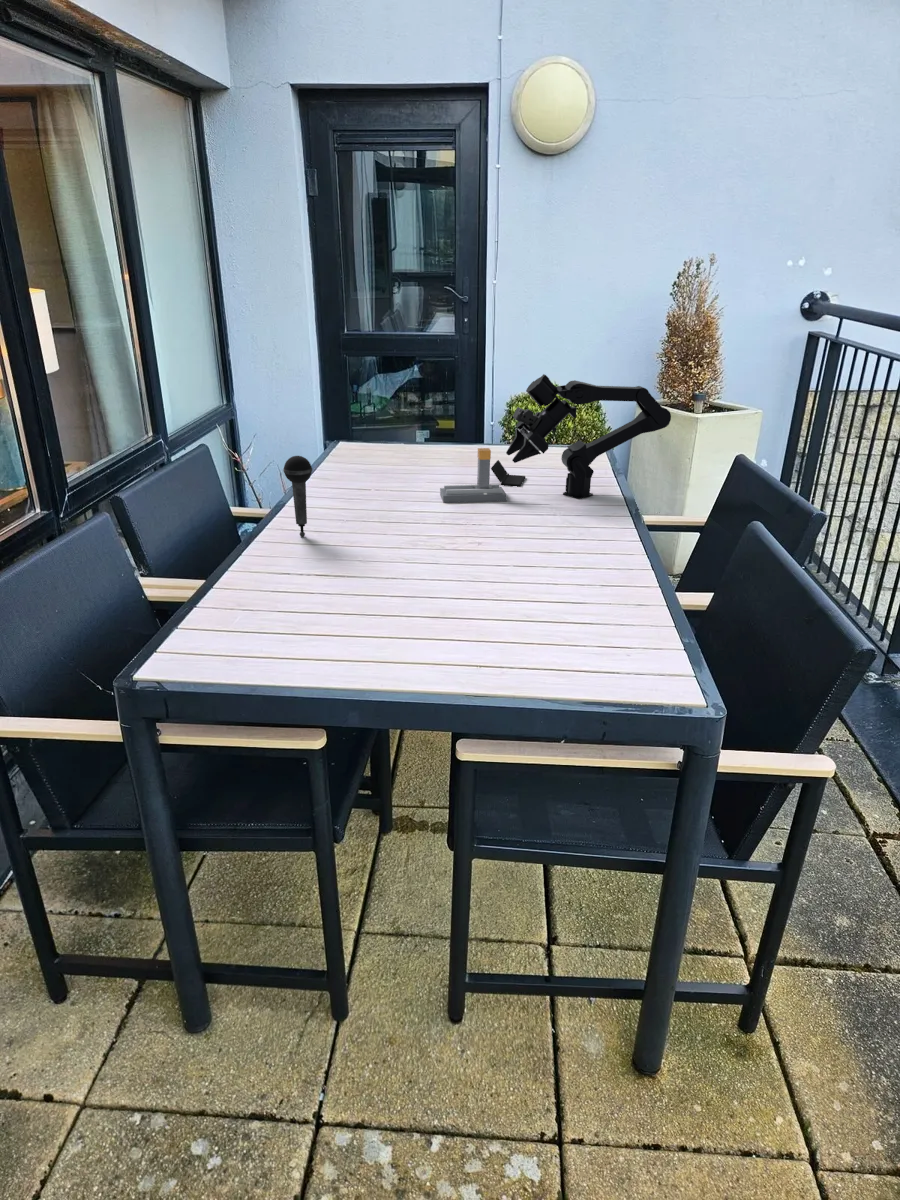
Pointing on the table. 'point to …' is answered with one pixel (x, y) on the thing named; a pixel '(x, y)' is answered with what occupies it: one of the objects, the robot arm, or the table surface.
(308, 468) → the microphone
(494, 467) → the handheld gaming console
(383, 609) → the table surface
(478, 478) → the block
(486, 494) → the fader track
